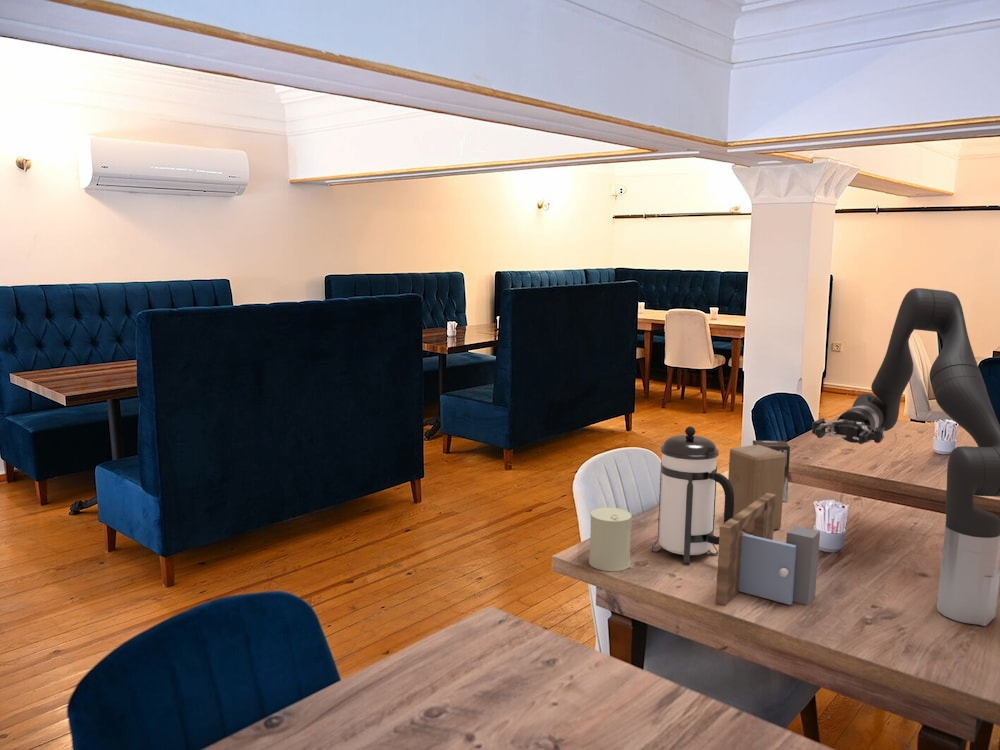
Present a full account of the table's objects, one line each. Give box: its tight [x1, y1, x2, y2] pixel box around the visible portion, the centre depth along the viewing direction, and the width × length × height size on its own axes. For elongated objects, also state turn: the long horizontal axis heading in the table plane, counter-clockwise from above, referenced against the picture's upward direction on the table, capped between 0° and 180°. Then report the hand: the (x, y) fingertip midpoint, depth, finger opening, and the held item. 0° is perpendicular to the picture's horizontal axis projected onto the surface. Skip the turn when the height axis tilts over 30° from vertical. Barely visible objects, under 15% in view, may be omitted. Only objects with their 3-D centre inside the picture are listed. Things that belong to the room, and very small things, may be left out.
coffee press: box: [651, 426, 734, 565], centre depth 180 cm, size 17×16×30 cm
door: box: [739, 532, 796, 606], centre depth 159 cm, size 12×2×12 cm, turn 53°
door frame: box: [715, 493, 776, 606], centre depth 166 cm, size 27×2×16 cm, turn 143°
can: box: [588, 507, 633, 572], centre depth 176 cm, size 9×9×12 cm
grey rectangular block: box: [785, 525, 821, 606], centre depth 159 cm, size 5×5×14 cm
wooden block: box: [727, 444, 786, 535], centre depth 200 cm, size 10×10×20 cm
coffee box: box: [752, 440, 791, 503], centre depth 223 cm, size 9×6×16 cm
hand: (839, 436), depth 170 cm, fingers open, 8 cm apart
